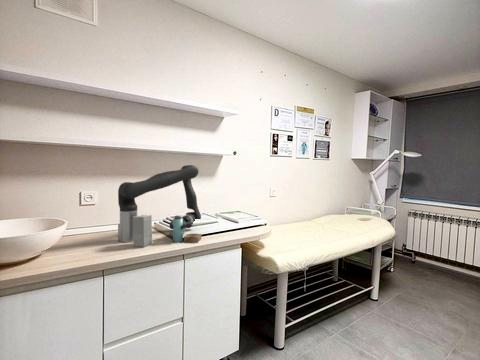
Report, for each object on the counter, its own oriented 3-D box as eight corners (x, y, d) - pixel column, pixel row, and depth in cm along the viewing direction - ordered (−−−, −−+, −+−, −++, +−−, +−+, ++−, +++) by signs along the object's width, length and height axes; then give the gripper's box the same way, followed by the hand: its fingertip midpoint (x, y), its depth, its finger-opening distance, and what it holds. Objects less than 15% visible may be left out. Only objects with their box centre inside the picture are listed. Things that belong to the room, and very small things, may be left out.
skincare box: (144, 247, 131) (144, 217, 130) (131, 246, 132) (132, 216, 132) (152, 243, 139) (153, 214, 139) (141, 242, 140) (141, 214, 140)
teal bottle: (171, 242, 142) (171, 216, 141) (174, 239, 147) (175, 215, 147) (180, 242, 141) (181, 217, 140) (184, 240, 147) (184, 215, 146)
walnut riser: (183, 242, 143) (184, 236, 143) (188, 238, 151) (188, 233, 151) (197, 242, 142) (197, 237, 142) (201, 238, 150) (201, 233, 150)
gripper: (174, 215, 159) (164, 220, 142) (197, 216, 157) (189, 221, 140) (174, 227, 159) (164, 233, 142) (196, 227, 157) (188, 234, 141)
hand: (176, 227), depth 141 cm, fingers closed on teal bottle, 5 cm apart
